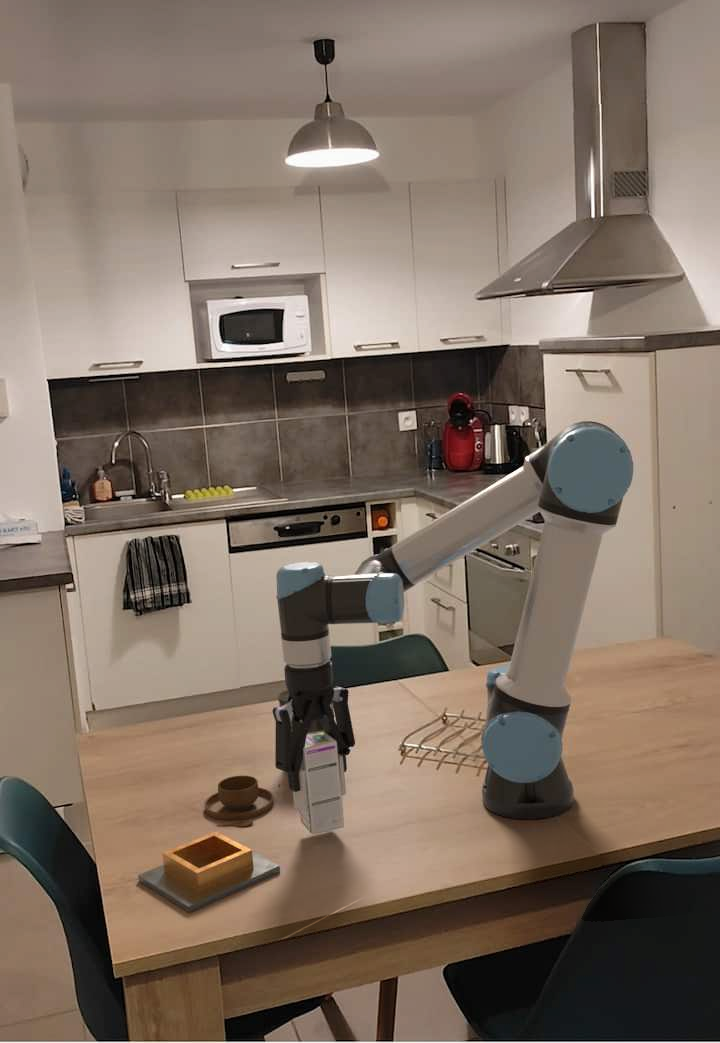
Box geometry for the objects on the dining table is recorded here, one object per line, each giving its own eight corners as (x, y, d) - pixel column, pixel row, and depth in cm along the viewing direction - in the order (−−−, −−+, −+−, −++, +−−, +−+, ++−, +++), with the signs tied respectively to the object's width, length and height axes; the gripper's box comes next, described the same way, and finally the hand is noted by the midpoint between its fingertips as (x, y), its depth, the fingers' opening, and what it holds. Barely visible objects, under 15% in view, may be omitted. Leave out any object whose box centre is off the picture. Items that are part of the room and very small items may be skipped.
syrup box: (345, 827, 169) (339, 739, 167) (310, 835, 167) (303, 747, 165) (332, 814, 174) (326, 729, 172) (298, 822, 172) (291, 736, 170)
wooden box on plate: (280, 871, 160) (278, 846, 159) (189, 913, 149) (186, 886, 149) (227, 844, 170) (225, 820, 169) (138, 881, 160) (136, 856, 159)
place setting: (216, 790, 194) (213, 759, 193) (325, 786, 193) (323, 755, 192) (195, 832, 177) (192, 798, 176) (314, 828, 175) (312, 794, 174)
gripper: (340, 643, 176) (352, 775, 179) (241, 673, 163) (256, 815, 167) (370, 650, 170) (382, 786, 174) (270, 682, 158) (285, 828, 161)
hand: (320, 800), depth 170 cm, fingers closed on syrup box, 7 cm apart
